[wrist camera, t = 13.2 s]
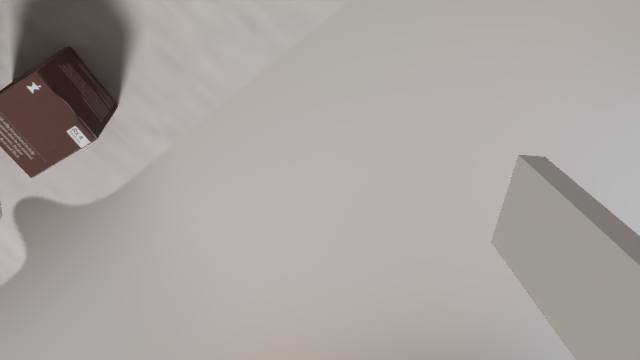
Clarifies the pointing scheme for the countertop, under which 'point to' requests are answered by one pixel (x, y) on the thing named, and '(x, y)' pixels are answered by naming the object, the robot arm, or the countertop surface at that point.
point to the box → (52, 112)
